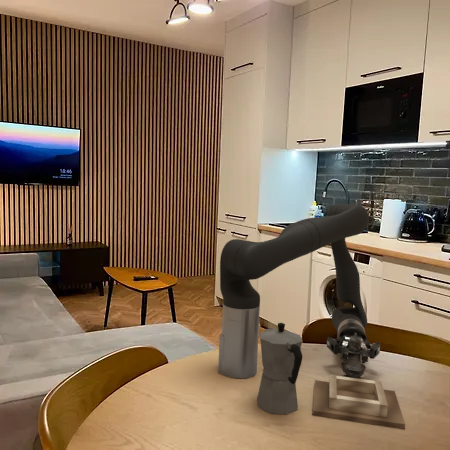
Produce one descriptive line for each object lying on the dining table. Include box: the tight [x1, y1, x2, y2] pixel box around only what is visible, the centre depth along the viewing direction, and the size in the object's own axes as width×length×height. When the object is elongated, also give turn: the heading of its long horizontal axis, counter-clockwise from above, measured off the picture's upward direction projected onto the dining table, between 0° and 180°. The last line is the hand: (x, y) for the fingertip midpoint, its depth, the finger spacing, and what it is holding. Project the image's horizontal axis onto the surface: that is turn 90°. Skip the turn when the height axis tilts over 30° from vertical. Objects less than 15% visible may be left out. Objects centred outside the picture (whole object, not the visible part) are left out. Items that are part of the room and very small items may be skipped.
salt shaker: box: [340, 333, 367, 379], centre depth 110 cm, size 6×6×12 cm
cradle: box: [312, 374, 406, 430], centre depth 97 cm, size 18×15×4 cm
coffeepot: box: [256, 322, 303, 415], centre depth 95 cm, size 15×9×18 cm, turn 19°
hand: (355, 358), depth 107 cm, fingers closed on salt shaker, 3 cm apart
